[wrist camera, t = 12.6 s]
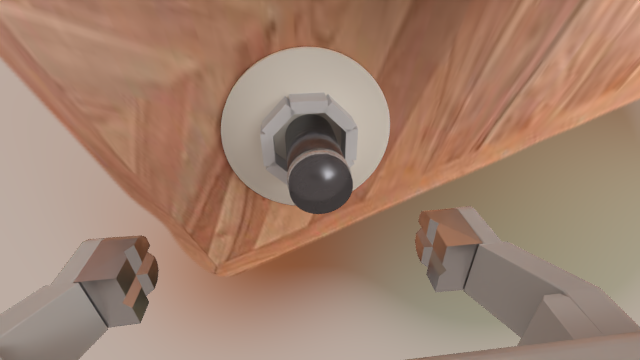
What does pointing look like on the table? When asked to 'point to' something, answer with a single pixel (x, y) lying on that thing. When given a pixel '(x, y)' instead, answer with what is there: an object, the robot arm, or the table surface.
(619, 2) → the table surface
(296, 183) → the lens
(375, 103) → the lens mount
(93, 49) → the table surface
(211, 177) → the table surface
